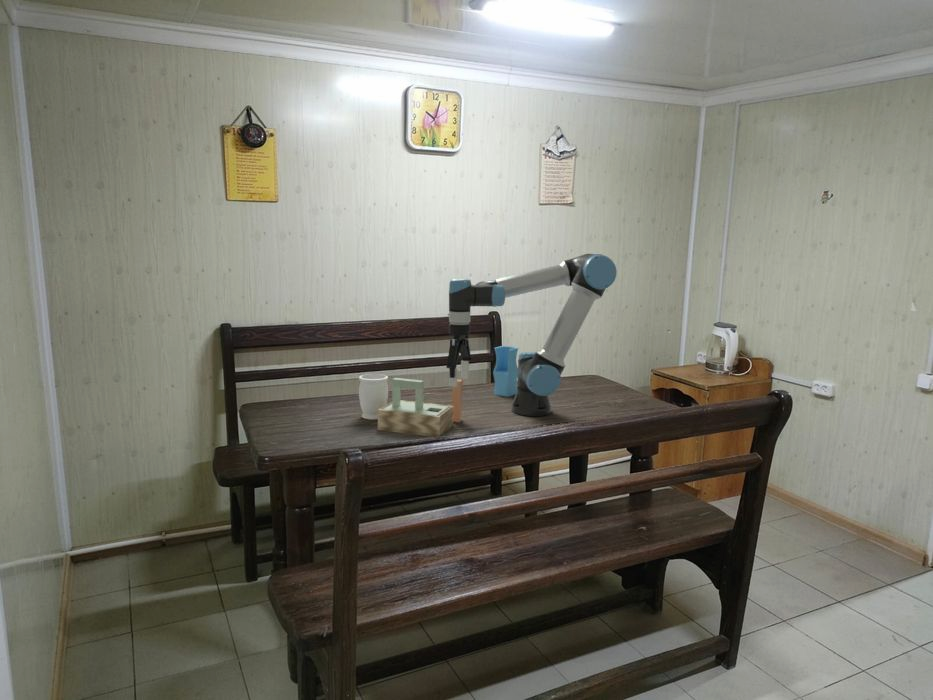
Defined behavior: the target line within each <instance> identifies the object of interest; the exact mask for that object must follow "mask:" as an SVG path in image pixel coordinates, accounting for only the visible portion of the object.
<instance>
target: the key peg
mask: <svg viewBox="0 0 933 700" xmlns="http://www.w3.org/2000/svg"><path fill="white" fill-rule="evenodd" d="M463 383H464V379H460V378H459V379H458V378H457V387H451V406H454V410H453V423H460V422H461V421H463V391H464V390H463V388H464V386H463Z"/></svg>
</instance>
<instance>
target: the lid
mask: <svg viewBox="0 0 933 700" xmlns="http://www.w3.org/2000/svg"><path fill="white" fill-rule="evenodd" d="M391 383H392V386H391V388H392V391H391V392H392V394H391V395H392V396H391V398H392V399H391V400H392V401H391V402H392V404H391V405H389V406H388V407H386V408H384V409H383V410H392V411H400V412H409V413H417V414H425V415H434V416H438V415H439V414H441V413H442V412H443V411H445V410H446V409H447V408H449V406H450V405H449V406H440V405H441V404H440V405H431V404H423V403H424V385H425V381H424V380H420V379H412V378H411V379H410V378H400V377H394V378H392V382H391ZM401 388H403V389H413V390H415V392H414V393H415V395H414V396H415V399H414V402H415V403H414V402H405V401H406V400H405V401H400V400H401V390H402V389H401ZM430 410H432V411H439V412H431V411H430Z"/></svg>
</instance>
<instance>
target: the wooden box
mask: <svg viewBox="0 0 933 700" xmlns="http://www.w3.org/2000/svg"><path fill="white" fill-rule="evenodd" d="M400 401H405V402H414V403H415V400H414V401H413V400H403V399H400ZM391 404H392V401H390V402H389V403H387V405H385V406H383V407H382V408H380V409H378V419H377V430H378V431H385V432H393V433H401V434H409V435H415V436H416V435H418V436H424V437H430V438H431V437H433V438H440V437H441V436H443V434H445V433H446V432H447V431H449V429H450V428H452V427H453V426H454V422H453V410H454V406H452V405H449V404H448V405H447V404H440V403H438V404H437V403H431V402H423V404H431V405H440V406H449V408H447V409H446V410H445V411H443V412H442V413H441V414H439V415H438V416H434V415H425V414H417V413H409V412H400V411H392V410H383V409H384V408H386V407H388V406H389V405H391ZM430 411H431V412H439V411H432V410H430Z"/></svg>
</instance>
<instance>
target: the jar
mask: <svg viewBox="0 0 933 700" xmlns="http://www.w3.org/2000/svg"><path fill="white" fill-rule="evenodd" d="M358 380H359V381H360V383H359V386H358V399H359V404H360V408H361V412H362V414H361V418H363V419H365V420H372V421H373V420H375V421H376V420H378V409H380V408H382V407H383V406H385V405H387V404H388V399H389V386H388V380H389V376H388V375H386V374H380V373H378V374H377V373H366V374H361V375H359V376H358Z"/></svg>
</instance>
